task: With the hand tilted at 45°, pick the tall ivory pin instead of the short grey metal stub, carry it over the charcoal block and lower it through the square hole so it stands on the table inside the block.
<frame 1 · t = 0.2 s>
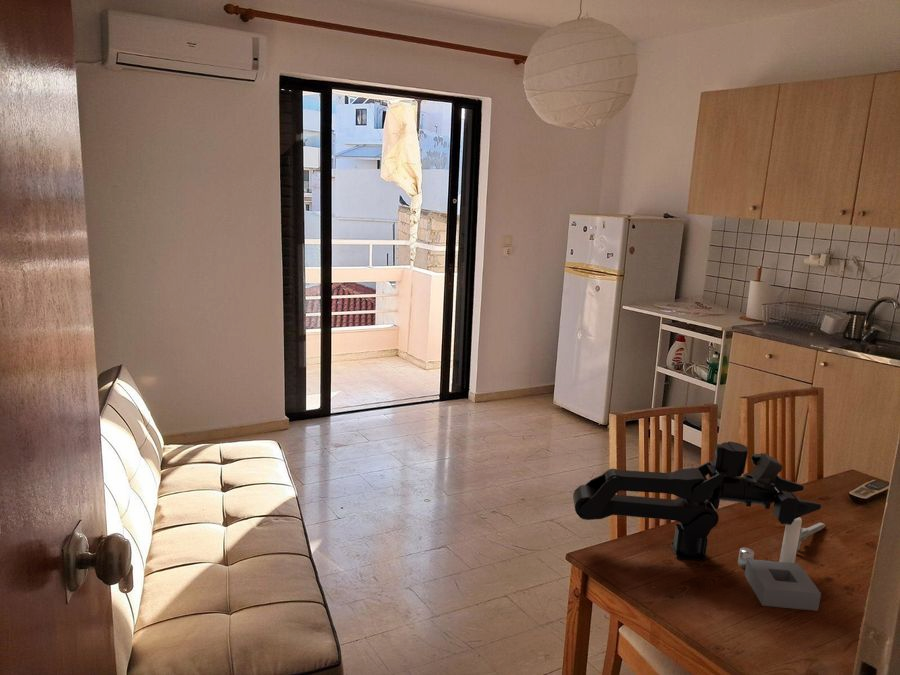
hand: (811, 497, 150), 17 cm above the table, tool horizontal, fingers open, 9 cm apart
ivory pin: (785, 568, 151), on the table
hole block: (779, 592, 142), on the table
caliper: (808, 540, 165), on the table
short stub: (744, 564, 152), on the table
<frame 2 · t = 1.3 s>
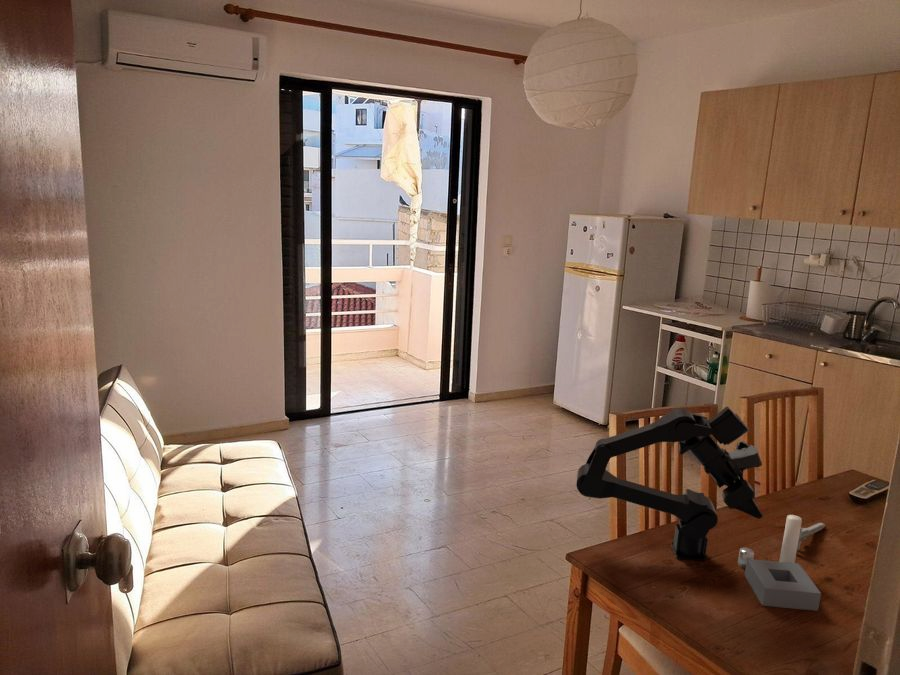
hand: (756, 507, 150), 14 cm above the table, tool tilted 45°, fingers open, 9 cm apart
nothing on the table moved.
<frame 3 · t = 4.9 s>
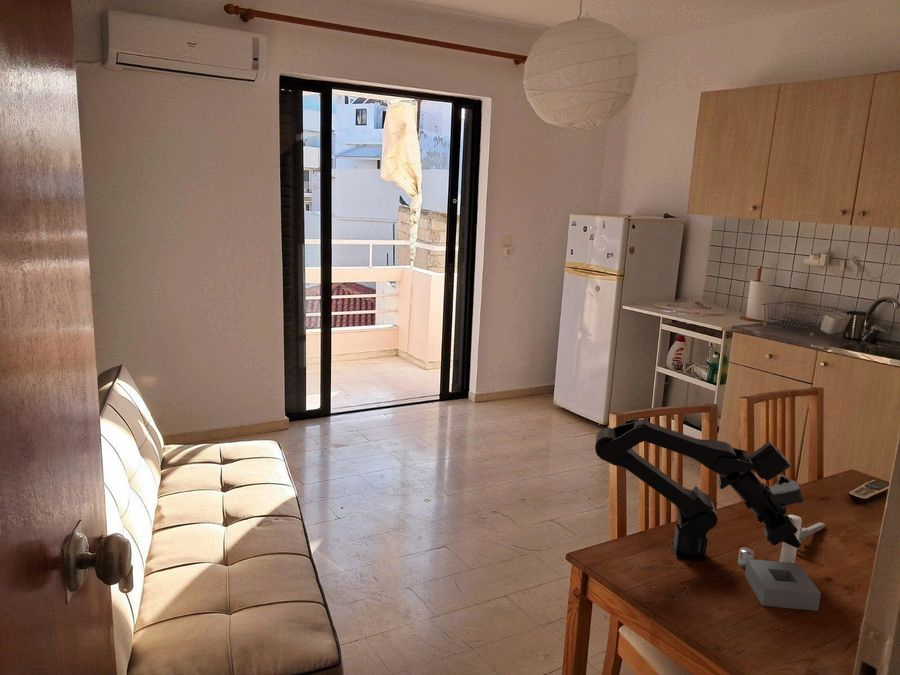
hand: (797, 543, 149), 7 cm above the table, tool tilted 45°, fingers closed on ivory pin, 3 cm apart
ivory pin: (785, 568, 151), on the table, touching gripper
everything else where it was.
when the fingers open (8 cm above the table, at t = 8.7 s): ivory pin drops 1 cm, resting in hole block.
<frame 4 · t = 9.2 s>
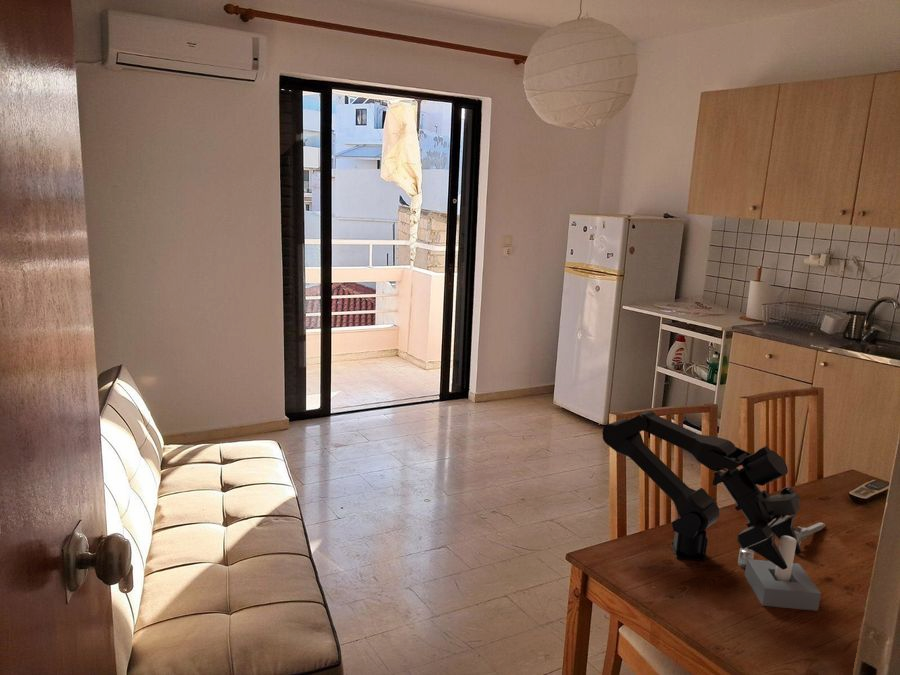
hand: (792, 561, 139), 8 cm above the table, tool tilted 45°, fingers open, 8 cm apart
ivory pin: (779, 592, 142), resting in hole block
everything else where it was.
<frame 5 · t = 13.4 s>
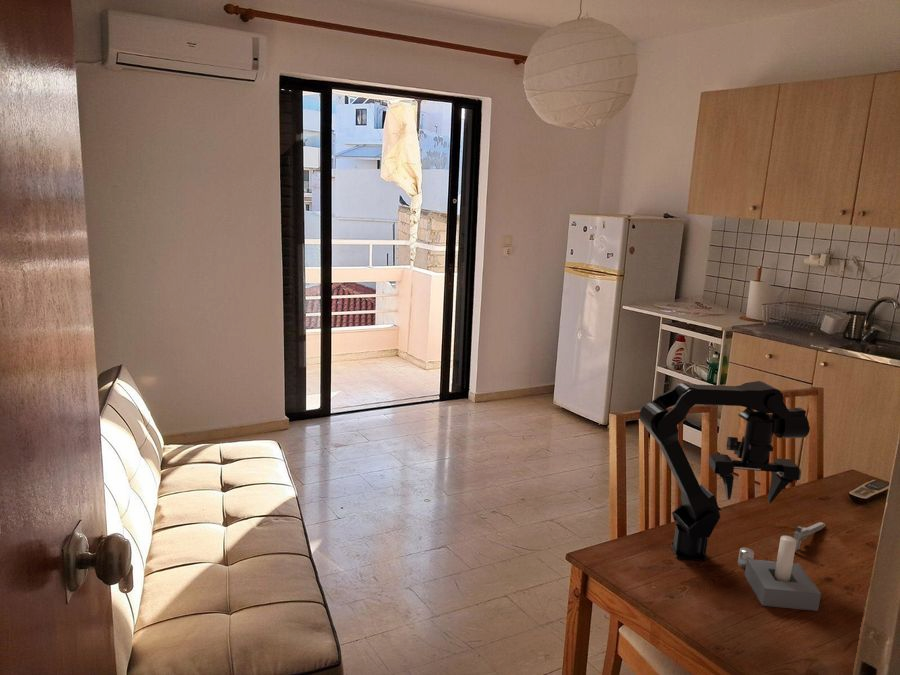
hand: (748, 500, 155), 13 cm above the table, tool pointing down, fingers open, 9 cm apart
nothing on the table moved.
at the end: ivory pin 0.0 cm from the hole block (horizontally); ivory pin resting in hole block; ivory pin tilted 0° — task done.
